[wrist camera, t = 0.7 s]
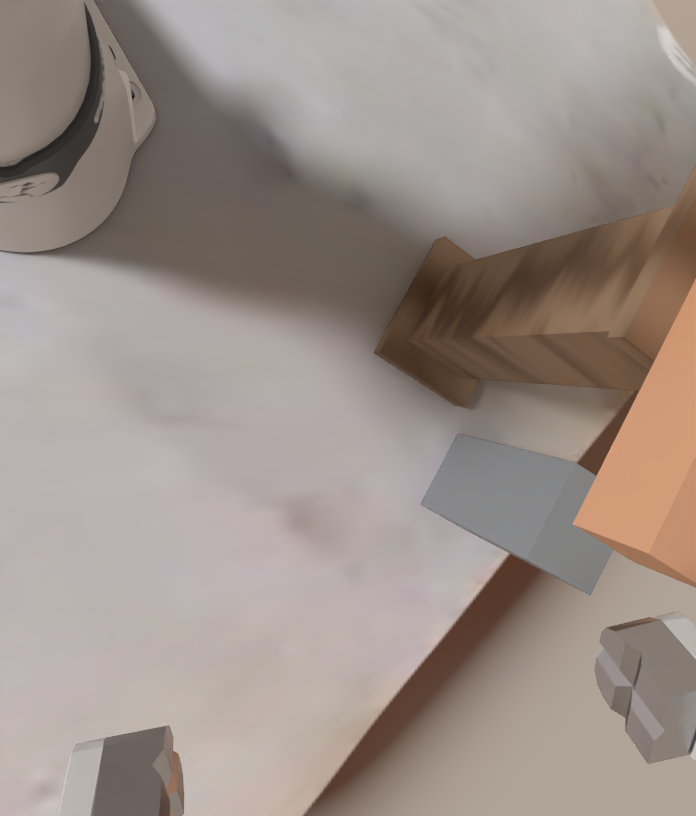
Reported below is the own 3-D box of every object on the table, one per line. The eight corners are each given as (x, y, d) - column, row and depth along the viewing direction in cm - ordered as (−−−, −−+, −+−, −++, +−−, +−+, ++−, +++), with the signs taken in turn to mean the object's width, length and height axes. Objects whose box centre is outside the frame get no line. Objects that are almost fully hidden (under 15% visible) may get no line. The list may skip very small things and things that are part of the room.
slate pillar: (471, 533, 54) (590, 595, 40) (420, 504, 52) (526, 559, 38) (507, 464, 55) (636, 502, 41) (457, 433, 53) (575, 462, 39)
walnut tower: (455, 405, 53) (734, 449, 28) (373, 352, 50) (606, 351, 25) (513, 298, 54) (829, 251, 29) (436, 239, 51) (716, 134, 26)
